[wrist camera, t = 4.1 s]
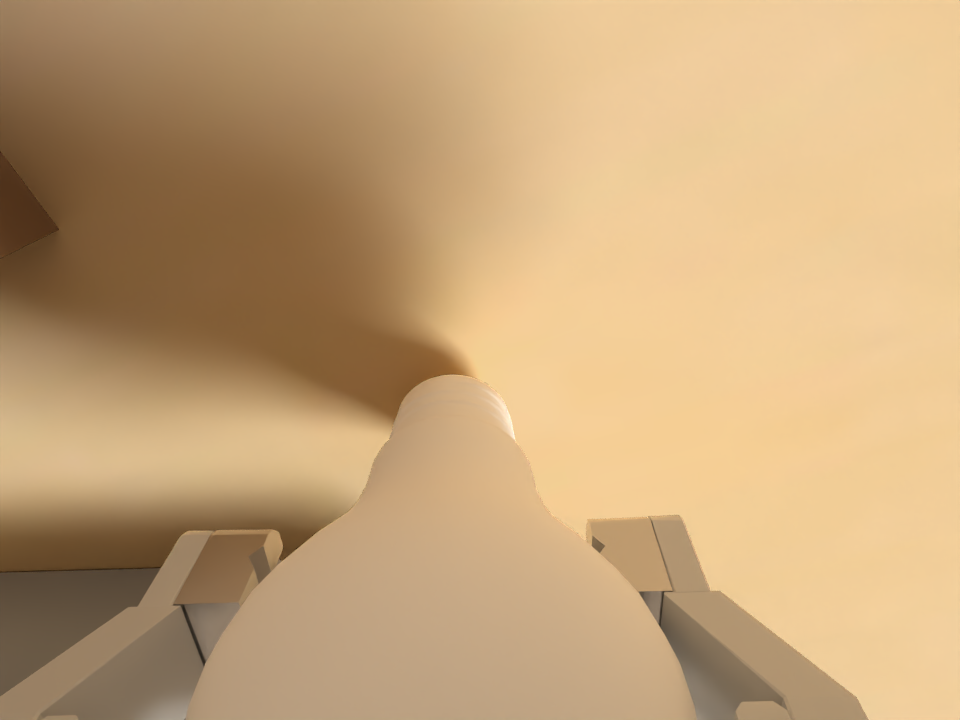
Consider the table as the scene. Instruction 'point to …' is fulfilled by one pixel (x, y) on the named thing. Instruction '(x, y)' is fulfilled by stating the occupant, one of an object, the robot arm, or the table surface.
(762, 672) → the robot arm
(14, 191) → the walnut block
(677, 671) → the lightbulb
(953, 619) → the table surface
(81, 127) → the table surface
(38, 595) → the gray square tray
